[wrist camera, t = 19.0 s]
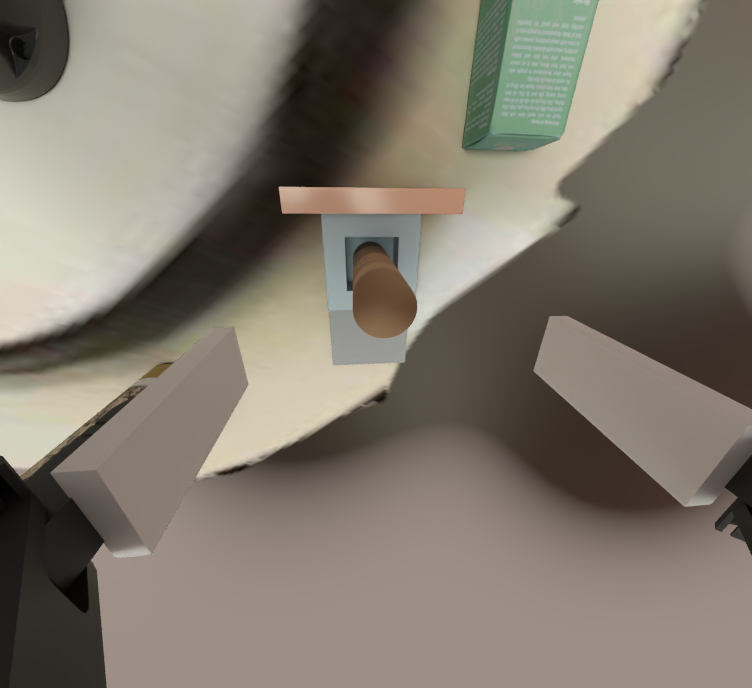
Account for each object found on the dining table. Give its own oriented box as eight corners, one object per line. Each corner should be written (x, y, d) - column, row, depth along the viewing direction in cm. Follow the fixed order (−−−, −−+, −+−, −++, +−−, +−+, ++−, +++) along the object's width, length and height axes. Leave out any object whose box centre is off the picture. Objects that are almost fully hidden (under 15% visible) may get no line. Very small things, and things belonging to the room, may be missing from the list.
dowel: (352, 241, 32) (351, 277, 16) (386, 241, 32) (419, 276, 16) (353, 275, 34) (353, 339, 18) (386, 275, 34) (414, 337, 18)
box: (459, 152, 32) (490, 137, 25) (481, -22, 26) (528, -104, 19) (520, 154, 32) (566, 140, 26) (555, -16, 26) (626, -92, 20)
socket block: (325, 212, 32) (320, 213, 27) (410, 212, 33) (421, 213, 28) (331, 295, 37) (328, 310, 31) (405, 293, 38) (414, 308, 32)
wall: (298, 192, 32) (278, 186, 23) (434, 193, 33) (465, 188, 24) (300, 211, 33) (282, 213, 24) (432, 212, 34) (462, 213, 25)
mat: (320, 192, 32) (320, 192, 32) (414, 193, 33) (414, 193, 33) (333, 363, 42) (333, 365, 42) (404, 361, 43) (404, 362, 43)
